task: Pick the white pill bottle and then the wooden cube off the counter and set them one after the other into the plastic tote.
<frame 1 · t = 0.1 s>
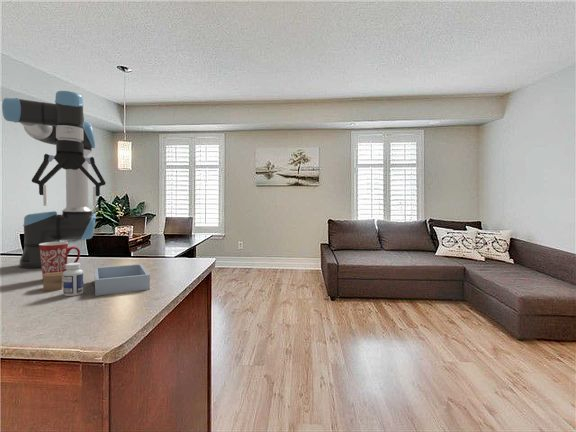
hand: (70, 206, 110), 28 cm above the countertop, fingers open, 13 cm apart
wooden cube: (53, 288, 112), on the countertop
mug: (60, 279, 124), on the countertop
pill bottle: (73, 294, 106), on the countertop
tote: (121, 285, 118), on the countertop
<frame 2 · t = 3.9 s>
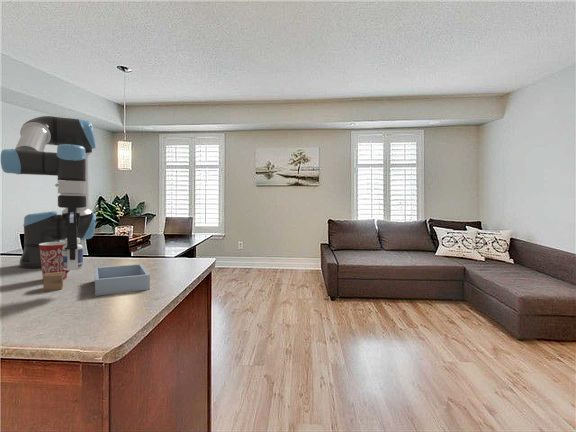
hand: (73, 267, 106), 8 cm above the countertop, fingers closed on pill bottle, 5 cm apart
pill bottle: (73, 269, 106), point 8 cm above the countertop, touching gripper
everything else where it was.
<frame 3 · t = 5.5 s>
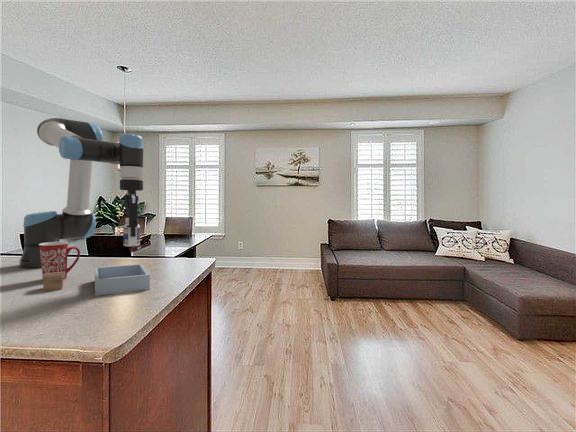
hand: (131, 244, 119), 14 cm above the countertop, fingers closed on pill bottle, 5 cm apart
pill bottle: (131, 246, 119), point 14 cm above the countertop, touching gripper
everything else where it was.
when the fingers open (2 cm above the countertop, at t = 7.5 s): pill bottle stays where it is, resting on tote.
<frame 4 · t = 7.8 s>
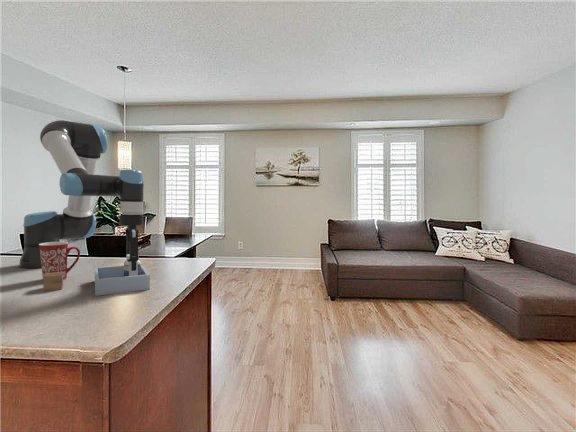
hand: (132, 276, 119), 3 cm above the countertop, fingers open, 9 cm apart
pill bottle: (131, 282, 119), point 1 cm above the countertop, touching tote
everything else where it was.
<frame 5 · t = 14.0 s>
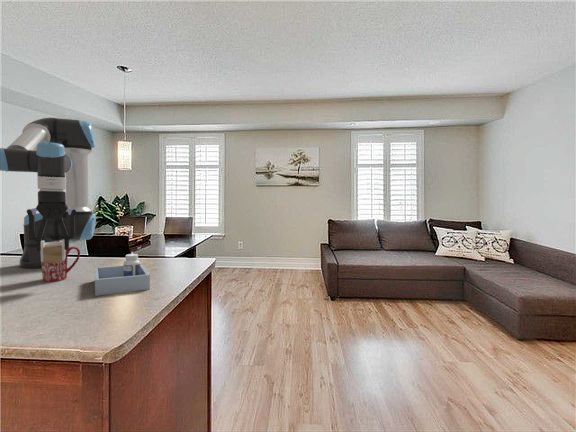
hand: (53, 259, 112), 10 cm above the countertop, fingers closed on wooden cube, 5 cm apart
wooden cube: (53, 261, 112), point 9 cm above the countertop, touching gripper
everything else where it was.
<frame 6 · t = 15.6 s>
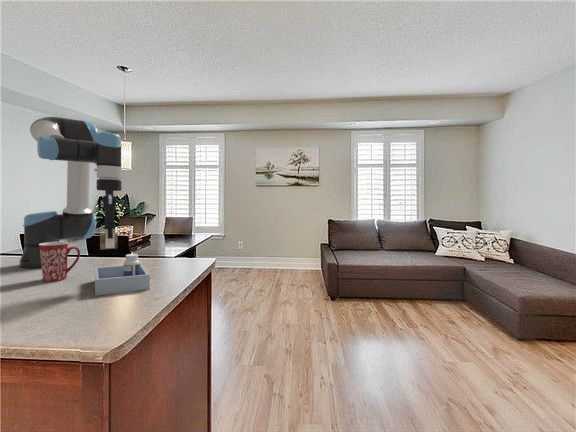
hand: (109, 246, 115), 14 cm above the countertop, fingers closed on wooden cube, 5 cm apart
wooden cube: (108, 247, 115), point 13 cm above the countertop, touching gripper
everything else where it was.
when the fingers open (1 cm above the countertop, at t = 17.7 s): wooden cube stays where it is, resting on tote.
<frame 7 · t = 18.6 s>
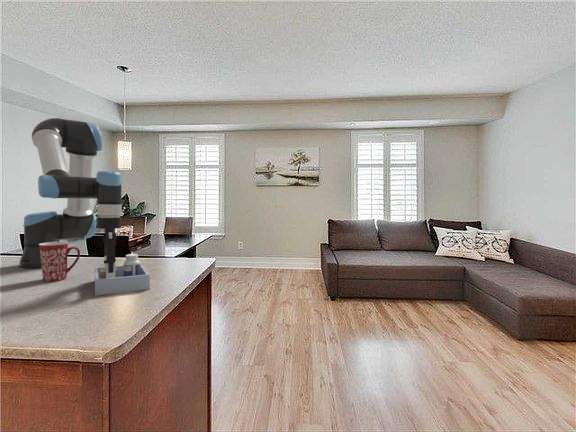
hand: (109, 277, 116), 3 cm above the countertop, fingers open, 13 cm apart
wooden cube: (109, 284, 116), point 1 cm above the countertop, touching tote
everything else where it was.
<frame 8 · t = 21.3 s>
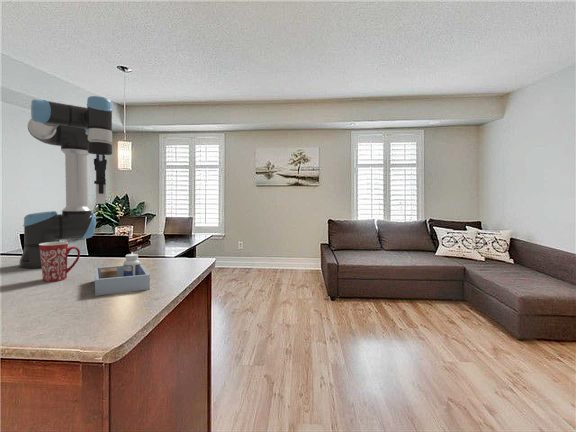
hand: (100, 203, 118), 29 cm above the countertop, fingers open, 13 cm apart
nothing on the countertop moved.
at the end: pill bottle inside the target area on the tote (3.5 cm from its centre), point 0.6 cm above the tote's base; wooden cube inside the target area on the tote (3.8 cm from its centre), point 0.8 cm above the tote's base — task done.
